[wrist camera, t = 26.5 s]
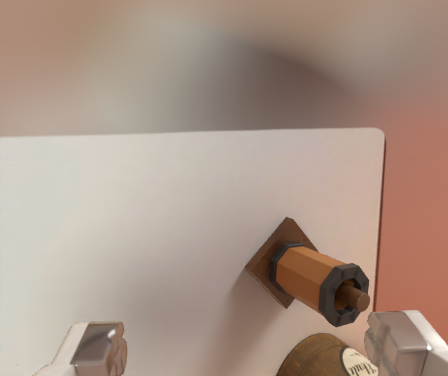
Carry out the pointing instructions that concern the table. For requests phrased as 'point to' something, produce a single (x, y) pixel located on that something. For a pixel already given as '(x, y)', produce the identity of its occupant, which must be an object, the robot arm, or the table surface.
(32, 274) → the table surface
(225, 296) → the table surface
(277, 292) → the stand
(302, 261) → the orange-brown octagonal tube
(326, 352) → the wooden container
